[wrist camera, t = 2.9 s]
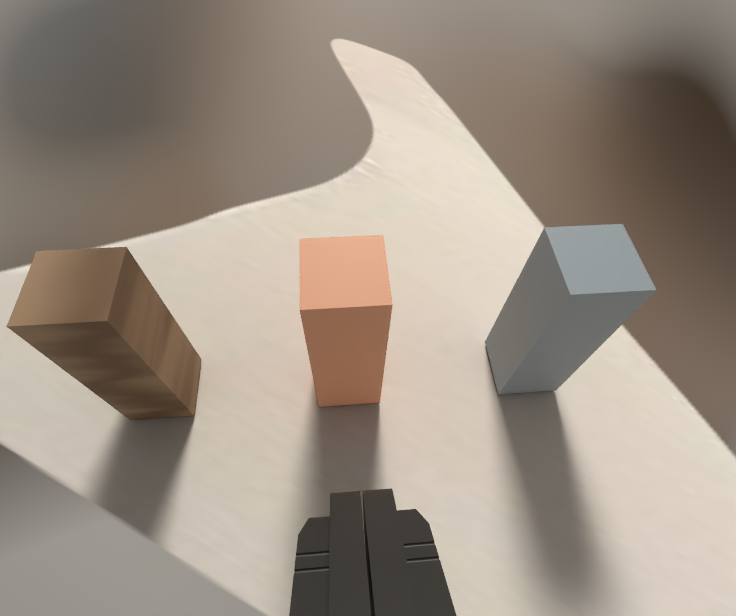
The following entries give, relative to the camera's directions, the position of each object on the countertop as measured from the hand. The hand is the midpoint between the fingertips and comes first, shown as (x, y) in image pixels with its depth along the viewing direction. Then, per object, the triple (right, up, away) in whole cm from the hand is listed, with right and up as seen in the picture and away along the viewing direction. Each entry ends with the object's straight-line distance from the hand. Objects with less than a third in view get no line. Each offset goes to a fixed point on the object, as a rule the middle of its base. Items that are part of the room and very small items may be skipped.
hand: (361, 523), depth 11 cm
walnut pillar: (-13, 0, +19) cm, 23 cm away
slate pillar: (+11, +1, +20) cm, 23 cm away
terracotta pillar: (-1, +1, +20) cm, 20 cm away
